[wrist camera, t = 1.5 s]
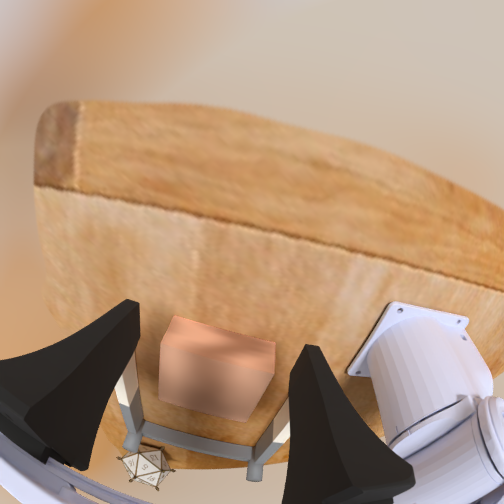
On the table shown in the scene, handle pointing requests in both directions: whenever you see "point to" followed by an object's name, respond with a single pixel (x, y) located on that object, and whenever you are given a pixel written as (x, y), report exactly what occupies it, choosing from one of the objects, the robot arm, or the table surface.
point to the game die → (146, 465)
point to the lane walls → (130, 384)
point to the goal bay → (197, 440)
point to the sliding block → (214, 369)
